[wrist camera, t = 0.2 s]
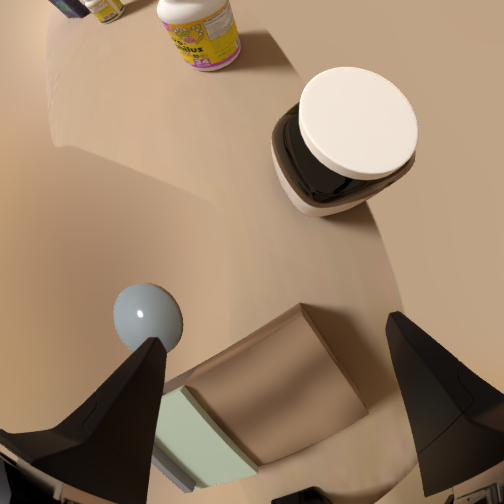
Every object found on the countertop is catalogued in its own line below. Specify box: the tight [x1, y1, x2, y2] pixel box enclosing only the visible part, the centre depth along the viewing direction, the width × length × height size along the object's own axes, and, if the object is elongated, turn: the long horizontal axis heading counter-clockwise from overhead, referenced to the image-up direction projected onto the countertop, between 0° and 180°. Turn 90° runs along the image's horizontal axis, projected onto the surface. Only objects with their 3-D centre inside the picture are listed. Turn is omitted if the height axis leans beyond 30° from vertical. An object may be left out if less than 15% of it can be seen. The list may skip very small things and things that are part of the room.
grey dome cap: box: [114, 283, 183, 353], centre depth 25 cm, size 8×8×1 cm
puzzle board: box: [162, 303, 369, 466], centre depth 22 cm, size 11×19×5 cm, turn 125°
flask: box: [49, 0, 89, 18], centre depth 24 cm, size 9×3×11 cm, turn 54°
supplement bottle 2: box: [157, 0, 241, 71], centre depth 19 cm, size 7×7×13 cm
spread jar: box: [271, 67, 418, 217], centre depth 18 cm, size 12×11×12 cm
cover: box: [151, 385, 259, 493], centre depth 19 cm, size 11×8×2 cm
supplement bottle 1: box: [83, 0, 125, 24], centre depth 23 cm, size 5×5×8 cm
